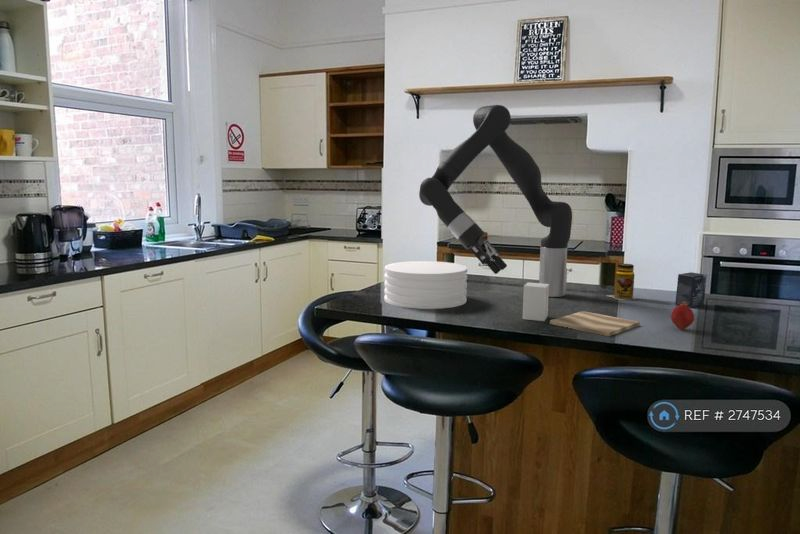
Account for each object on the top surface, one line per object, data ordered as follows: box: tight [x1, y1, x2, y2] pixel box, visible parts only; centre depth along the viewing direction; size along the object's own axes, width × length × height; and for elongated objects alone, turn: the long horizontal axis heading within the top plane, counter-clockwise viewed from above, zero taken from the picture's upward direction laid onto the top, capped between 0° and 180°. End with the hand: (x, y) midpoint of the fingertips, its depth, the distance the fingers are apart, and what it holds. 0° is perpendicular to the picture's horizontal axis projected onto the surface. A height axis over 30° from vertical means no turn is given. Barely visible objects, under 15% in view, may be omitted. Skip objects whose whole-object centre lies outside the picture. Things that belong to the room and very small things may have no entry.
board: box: [549, 310, 641, 337], centre depth 167 cm, size 18×18×1 cm
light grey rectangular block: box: [521, 282, 549, 322], centre depth 174 cm, size 6×6×10 cm
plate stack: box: [383, 260, 468, 310], centre depth 198 cm, size 28×28×12 cm
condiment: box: [606, 263, 639, 301], centre depth 205 cm, size 7×8×12 cm
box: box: [675, 271, 708, 309], centre depth 193 cm, size 8×6×11 cm
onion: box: [670, 302, 695, 331], centre depth 162 cm, size 6×6×8 cm
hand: (501, 270), depth 176 cm, fingers open, 8 cm apart
